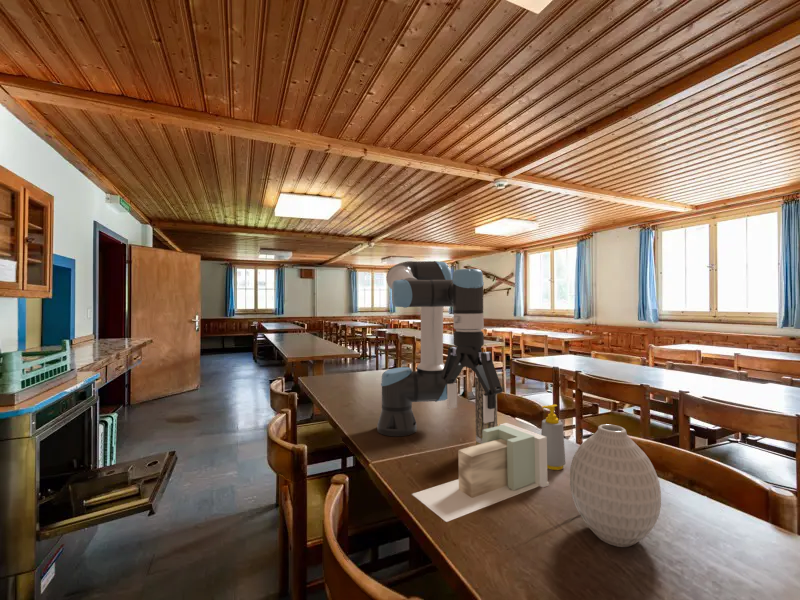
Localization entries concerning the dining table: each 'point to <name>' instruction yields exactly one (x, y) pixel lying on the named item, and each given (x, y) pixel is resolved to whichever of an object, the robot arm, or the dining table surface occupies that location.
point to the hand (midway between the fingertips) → (469, 414)
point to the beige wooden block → (483, 467)
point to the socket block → (515, 454)
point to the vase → (615, 487)
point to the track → (457, 503)
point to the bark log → (479, 412)
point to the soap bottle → (554, 440)
